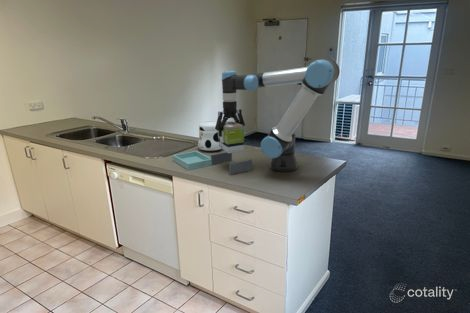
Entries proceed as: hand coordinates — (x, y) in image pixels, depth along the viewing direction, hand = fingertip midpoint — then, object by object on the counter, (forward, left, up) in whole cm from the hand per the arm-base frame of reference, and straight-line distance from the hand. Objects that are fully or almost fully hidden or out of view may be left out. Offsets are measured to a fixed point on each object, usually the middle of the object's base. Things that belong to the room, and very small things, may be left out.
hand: (230, 140), depth 180 cm
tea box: (0, 0, -5) cm, 5 cm away
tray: (+20, +14, -16) cm, 29 cm away
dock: (0, 0, -16) cm, 16 cm away
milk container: (+38, -9, -16) cm, 42 cm away
